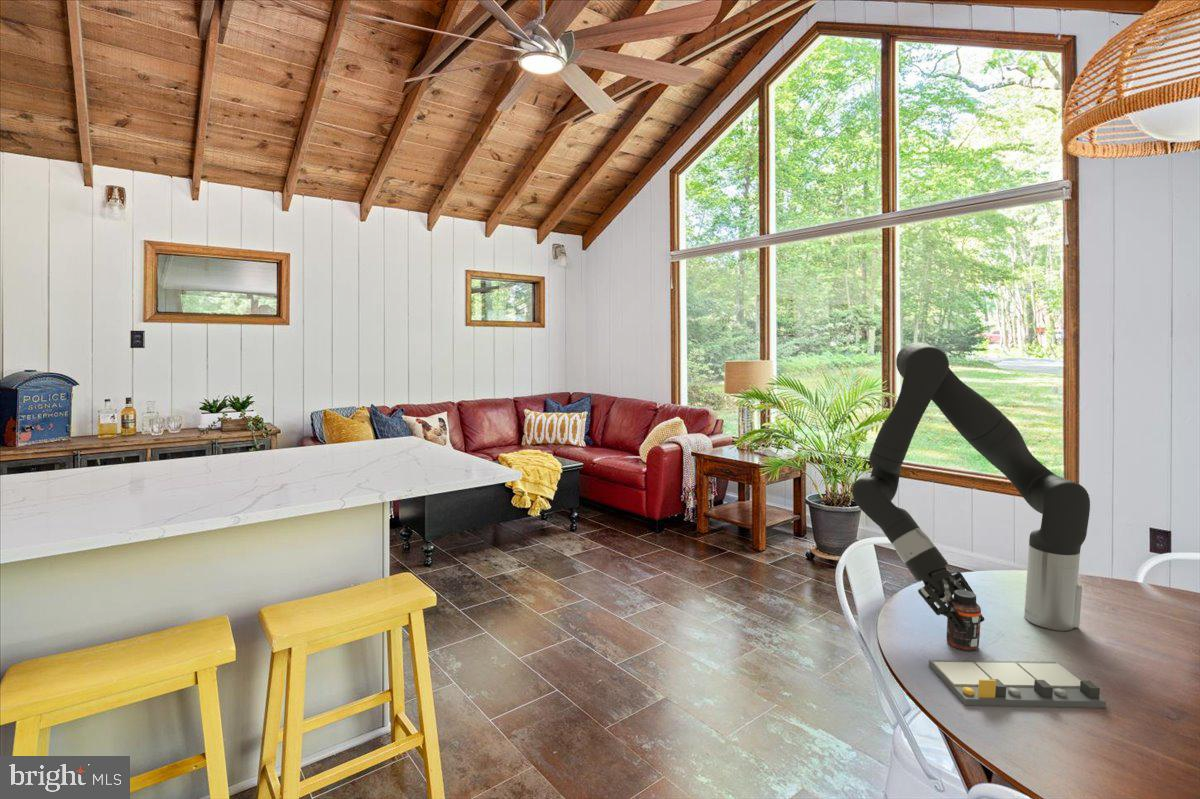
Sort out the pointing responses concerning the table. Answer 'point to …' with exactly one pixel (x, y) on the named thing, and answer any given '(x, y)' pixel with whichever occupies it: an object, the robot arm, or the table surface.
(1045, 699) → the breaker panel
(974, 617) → the supplement bottle
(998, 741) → the table surface
